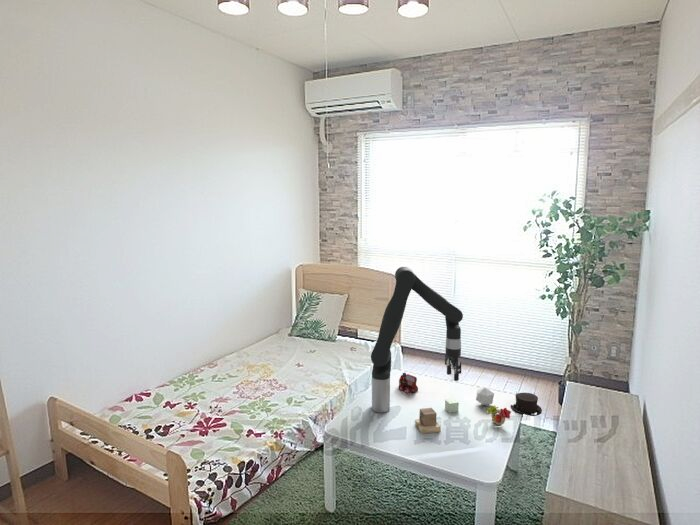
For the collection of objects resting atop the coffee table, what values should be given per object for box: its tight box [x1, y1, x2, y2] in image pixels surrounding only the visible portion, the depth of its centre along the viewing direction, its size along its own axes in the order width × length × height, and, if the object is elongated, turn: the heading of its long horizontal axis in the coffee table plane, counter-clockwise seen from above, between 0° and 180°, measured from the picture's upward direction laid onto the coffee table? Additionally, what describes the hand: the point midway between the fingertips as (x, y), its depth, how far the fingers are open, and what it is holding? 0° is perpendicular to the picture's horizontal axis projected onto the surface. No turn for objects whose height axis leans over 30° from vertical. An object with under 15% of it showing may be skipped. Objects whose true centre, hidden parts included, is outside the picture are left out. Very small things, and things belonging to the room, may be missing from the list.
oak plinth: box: [414, 418, 442, 435], centre depth 213 cm, size 9×9×2 cm
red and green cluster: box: [486, 405, 512, 426], centre depth 217 cm, size 6×11×9 cm, turn 44°
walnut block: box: [418, 407, 438, 427], centre depth 213 cm, size 6×6×6 cm
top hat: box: [510, 392, 543, 417], centre depth 232 cm, size 15×15×10 cm
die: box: [475, 387, 495, 406], centre depth 236 cm, size 8×9×10 cm
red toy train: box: [397, 372, 419, 395], centre depth 255 cm, size 7×12×10 cm, turn 39°
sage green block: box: [444, 398, 460, 414], centre depth 232 cm, size 5×5×5 cm
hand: (452, 377), depth 230 cm, fingers open, 8 cm apart
